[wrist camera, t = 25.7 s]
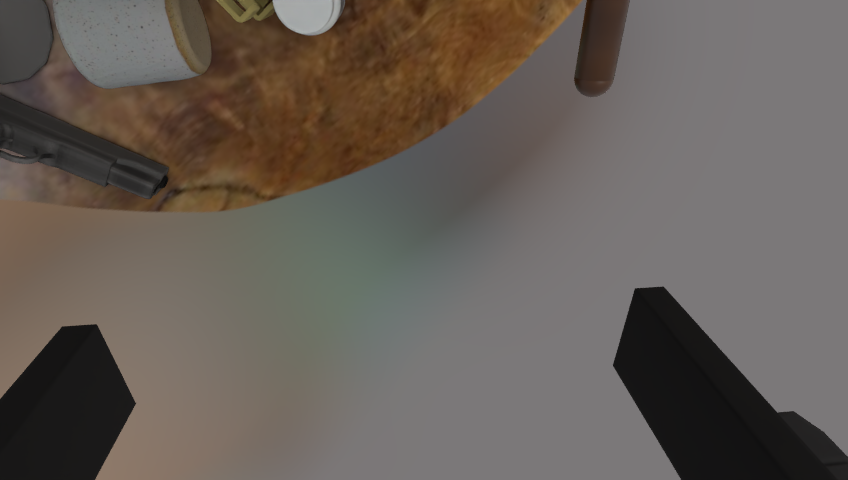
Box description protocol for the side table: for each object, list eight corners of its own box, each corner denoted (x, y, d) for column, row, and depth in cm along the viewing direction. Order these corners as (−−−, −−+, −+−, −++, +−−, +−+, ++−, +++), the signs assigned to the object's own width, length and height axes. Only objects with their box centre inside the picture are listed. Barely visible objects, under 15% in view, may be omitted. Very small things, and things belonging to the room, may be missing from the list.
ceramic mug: (225, 67, 40) (195, 86, 33) (129, 78, 40) (81, 99, 33) (182, -80, 35) (136, -93, 28) (71, -69, 34) (-2, -80, 28)
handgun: (115, 235, 34) (174, 165, 44) (-233, 106, 27) (-71, 58, 37) (107, 262, 35) (166, 188, 45) (-228, 146, 29) (-72, 89, 39)
